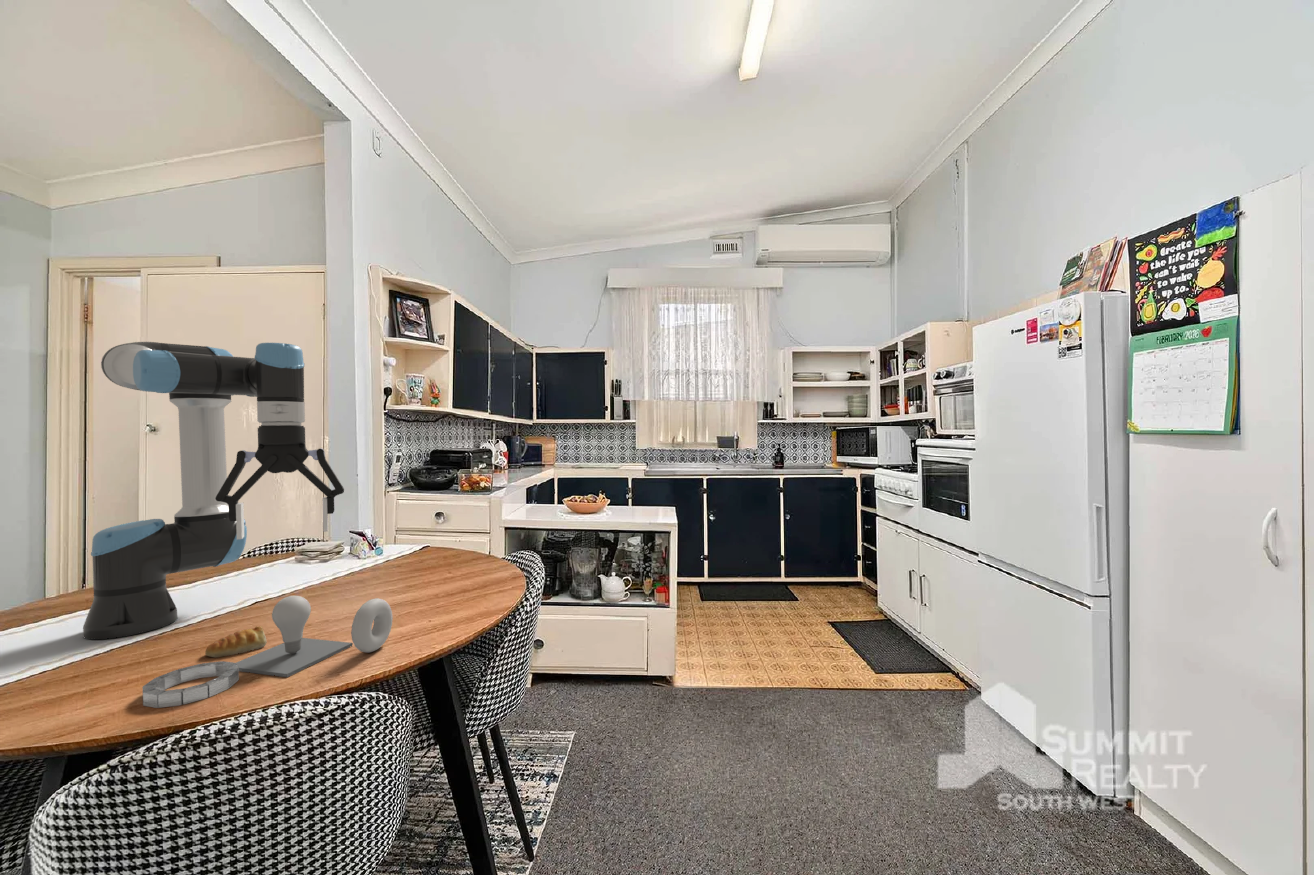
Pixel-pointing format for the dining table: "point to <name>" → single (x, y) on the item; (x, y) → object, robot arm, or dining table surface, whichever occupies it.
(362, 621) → the donut
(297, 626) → the lightbulb
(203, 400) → the robot arm
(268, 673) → the mat
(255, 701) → the dining table surface
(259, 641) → the pastry
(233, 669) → the segmented bracelet
